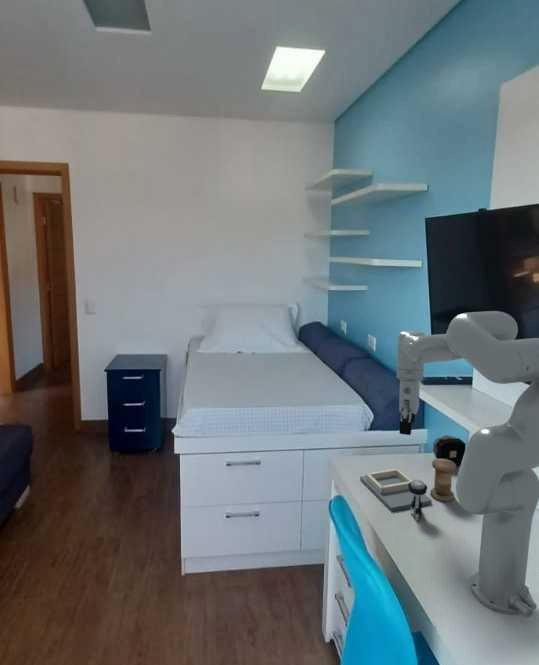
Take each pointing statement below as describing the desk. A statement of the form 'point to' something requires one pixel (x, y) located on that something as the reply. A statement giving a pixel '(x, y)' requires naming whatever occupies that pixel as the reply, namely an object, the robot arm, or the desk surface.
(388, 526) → the desk surface
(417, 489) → the push button
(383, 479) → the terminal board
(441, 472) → the wooden cabinet knob
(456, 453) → the cpu cooler
